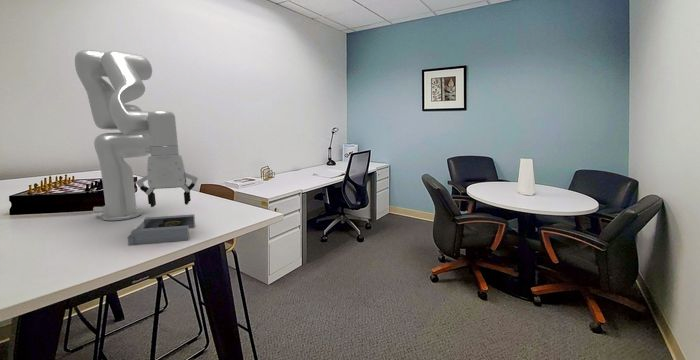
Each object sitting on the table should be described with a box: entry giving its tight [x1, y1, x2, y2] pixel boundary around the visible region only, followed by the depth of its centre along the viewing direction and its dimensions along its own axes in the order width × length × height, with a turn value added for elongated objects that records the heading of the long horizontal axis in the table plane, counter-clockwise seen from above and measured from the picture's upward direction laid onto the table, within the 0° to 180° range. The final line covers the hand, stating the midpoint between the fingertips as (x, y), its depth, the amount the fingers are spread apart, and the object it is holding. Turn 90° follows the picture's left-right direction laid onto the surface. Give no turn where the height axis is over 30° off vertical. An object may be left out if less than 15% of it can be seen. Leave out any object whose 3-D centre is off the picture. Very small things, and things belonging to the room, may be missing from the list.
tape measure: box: [158, 221, 182, 228], centre depth 105 cm, size 7×7×4 cm
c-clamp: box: [127, 214, 196, 246], centre depth 106 cm, size 16×18×4 cm
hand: (170, 204), depth 104 cm, fingers open, 9 cm apart
